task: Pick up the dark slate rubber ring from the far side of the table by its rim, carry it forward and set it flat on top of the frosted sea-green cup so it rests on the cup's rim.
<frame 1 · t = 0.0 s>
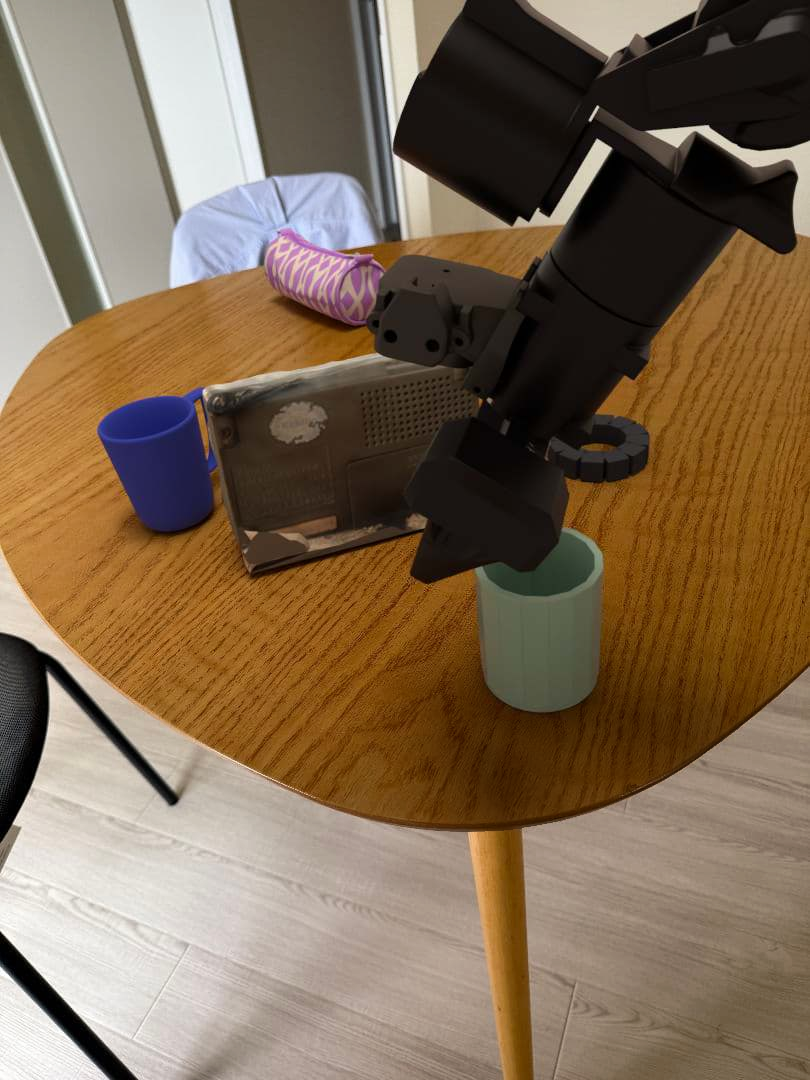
hand: (441, 525, 43), 13 cm above the table, tool tilted 35°, fingers open, 9 cm apart
cup: (539, 669, 51), on the table
ring: (597, 456, 71), on the table
pencil case: (330, 310, 112), on the table
mug: (193, 505, 73), on the table
radio: (364, 517, 68), on the table
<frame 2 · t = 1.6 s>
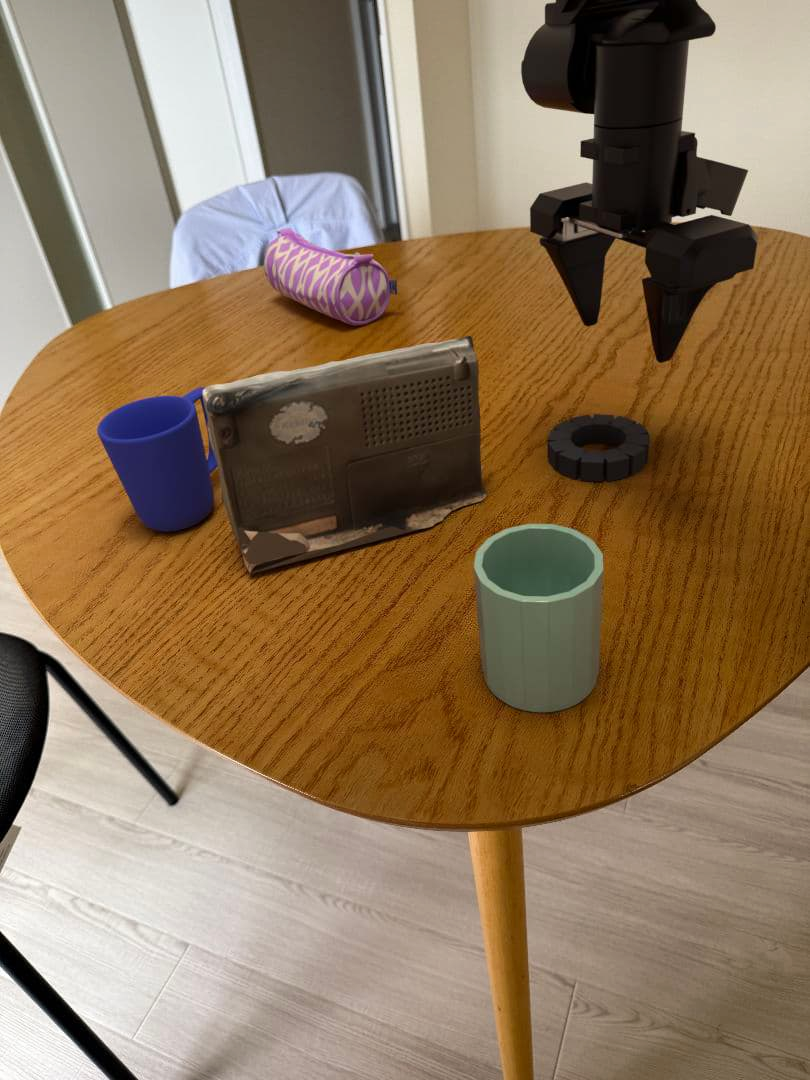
hand: (625, 341, 61), 12 cm above the table, tool pointing down, fingers open, 9 cm apart
nothing on the table moved.
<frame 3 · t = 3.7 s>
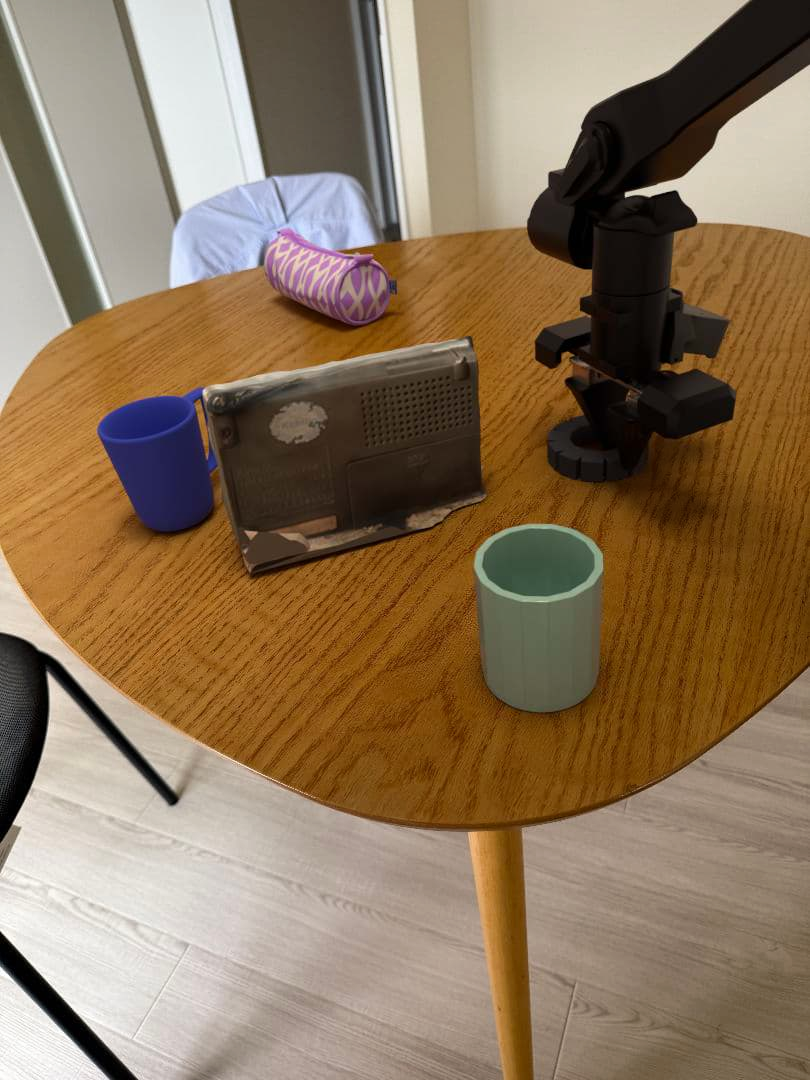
hand: (620, 462, 68), 1 cm above the table, tool pointing down, fingers closed on ring, 2 cm apart
ring: (597, 456, 71), on the table, touching gripper
everything else where it was.
when the fingers open (10 cm above the table, at t = 7.8 s): ring stays where it is, resting on cup.
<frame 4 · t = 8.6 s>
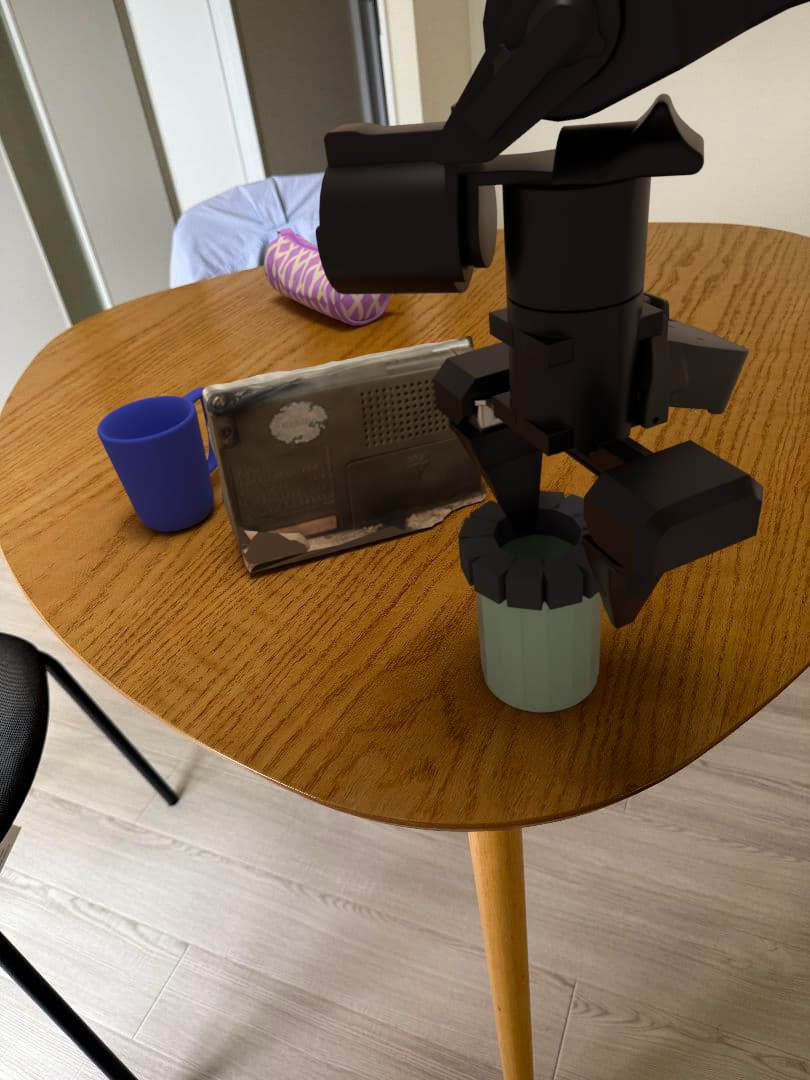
hand: (570, 574, 42), 10 cm above the table, tool pointing down, fingers open, 9 cm apart
ring: (537, 560, 46), point 9 cm above the table, touching cup
everything else where it was.
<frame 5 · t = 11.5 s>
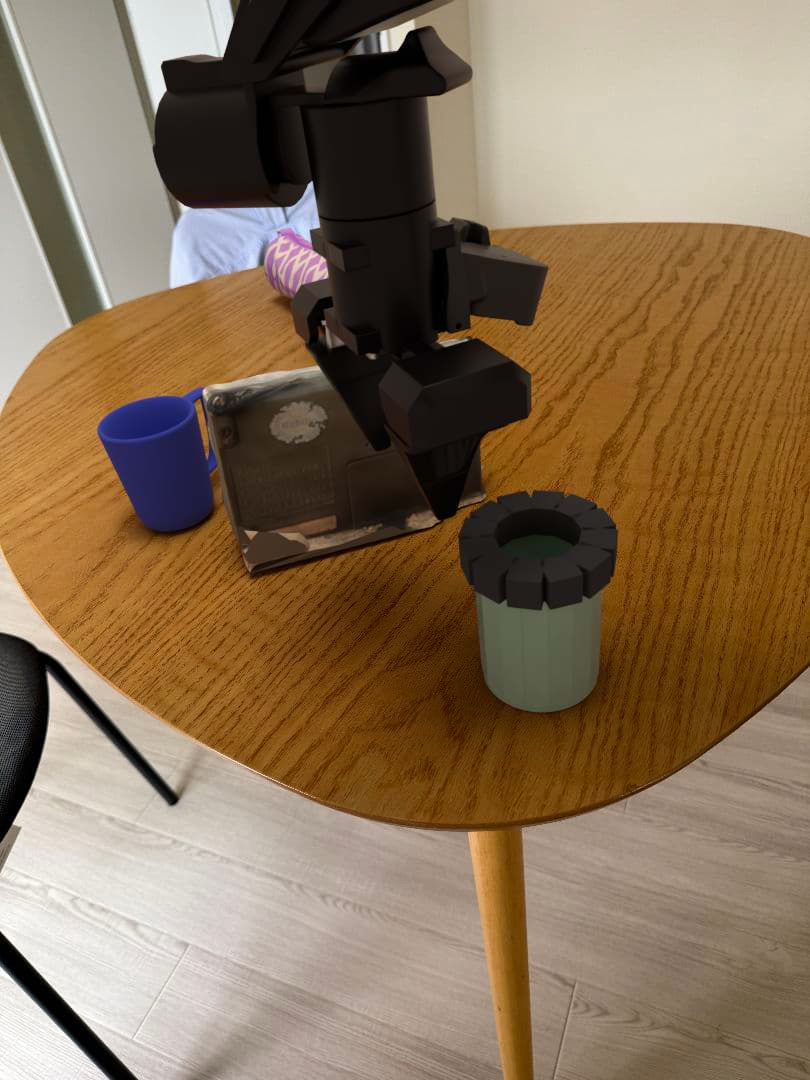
hand: (411, 480, 47), 13 cm above the table, tool pointing down, fingers open, 9 cm apart
nothing on the table moved.
at the end: ring 0.0 cm off-centre on the cup, point 9.0 cm above the cup's base; ring tilted 0°; the gripper is holding nothing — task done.
